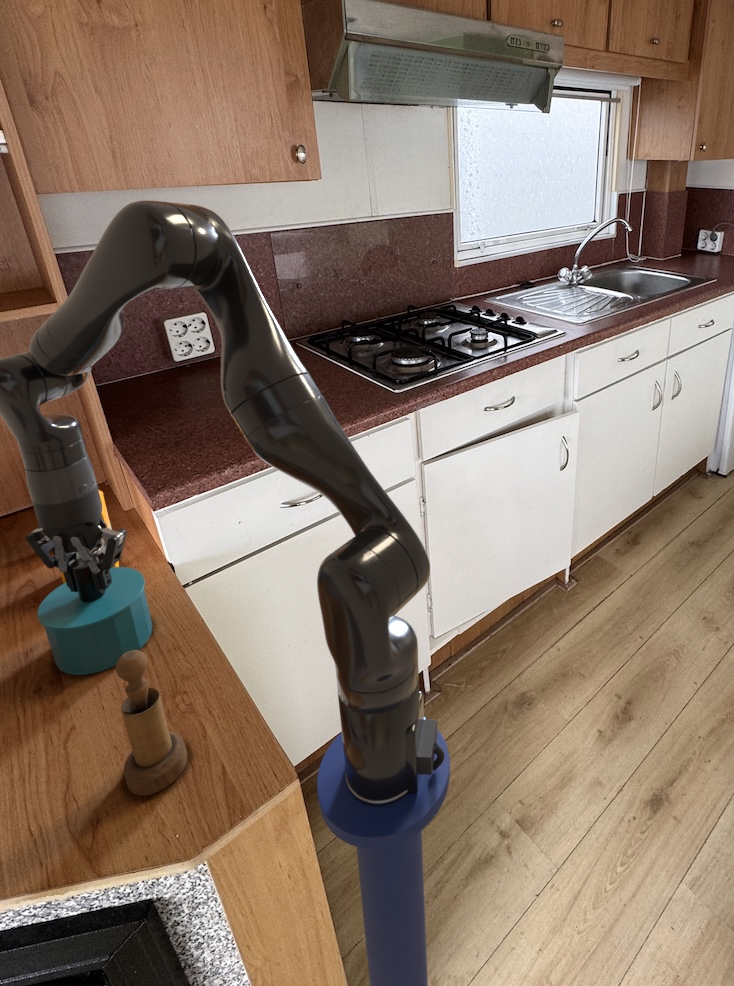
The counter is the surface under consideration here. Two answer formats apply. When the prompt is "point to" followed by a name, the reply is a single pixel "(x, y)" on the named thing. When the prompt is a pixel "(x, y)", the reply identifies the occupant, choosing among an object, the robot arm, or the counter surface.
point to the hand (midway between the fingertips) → (90, 588)
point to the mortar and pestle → (147, 732)
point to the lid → (90, 599)
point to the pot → (102, 640)
